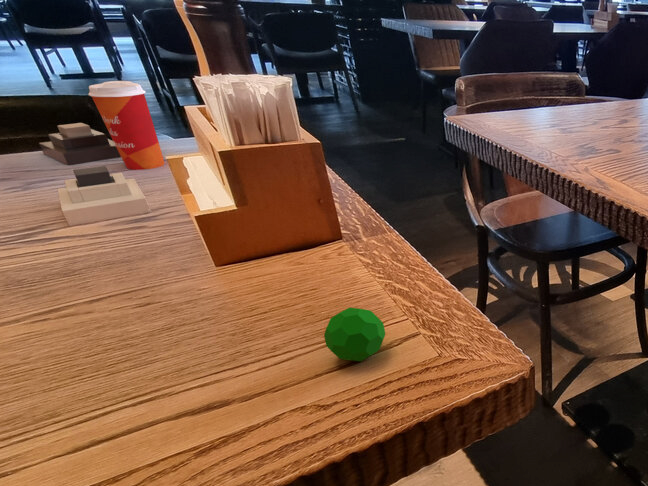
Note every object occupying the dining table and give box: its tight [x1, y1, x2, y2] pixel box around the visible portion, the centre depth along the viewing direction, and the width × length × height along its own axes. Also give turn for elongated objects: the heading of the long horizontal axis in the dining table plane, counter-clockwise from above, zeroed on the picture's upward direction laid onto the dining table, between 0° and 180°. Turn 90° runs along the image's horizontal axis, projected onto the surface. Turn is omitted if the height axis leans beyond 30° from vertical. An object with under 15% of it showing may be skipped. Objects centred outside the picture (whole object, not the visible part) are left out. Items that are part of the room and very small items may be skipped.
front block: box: [57, 172, 152, 227], centre depth 77 cm, size 12×9×4 cm
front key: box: [73, 165, 113, 187], centre depth 76 cm, size 4×4×2 cm
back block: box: [38, 128, 121, 167], centre depth 100 cm, size 12×9×4 cm
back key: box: [57, 122, 93, 138], centre depth 98 cm, size 4×4×2 cm
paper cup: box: [88, 82, 165, 171], centre depth 93 cm, size 8×8×14 cm
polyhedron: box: [323, 307, 386, 362], centre depth 48 cm, size 5×5×5 cm
